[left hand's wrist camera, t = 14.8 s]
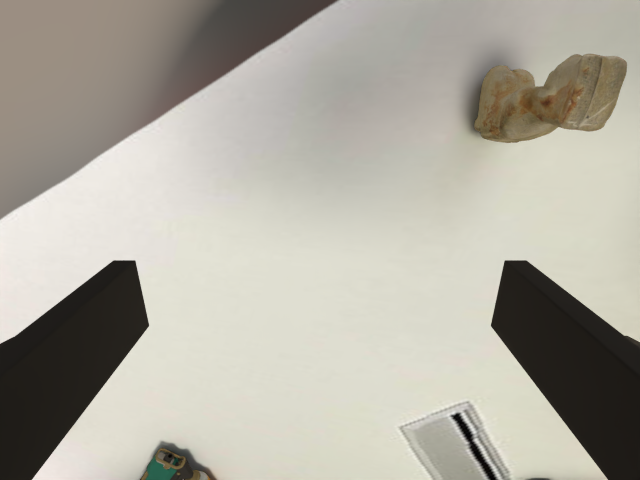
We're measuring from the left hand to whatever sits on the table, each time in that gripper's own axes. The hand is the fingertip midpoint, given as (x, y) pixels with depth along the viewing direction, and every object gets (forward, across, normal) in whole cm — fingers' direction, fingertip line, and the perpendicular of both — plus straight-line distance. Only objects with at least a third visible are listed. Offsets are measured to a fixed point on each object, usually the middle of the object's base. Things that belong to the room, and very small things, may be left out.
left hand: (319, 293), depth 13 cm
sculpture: (+30, +19, +6) cm, 36 cm away
